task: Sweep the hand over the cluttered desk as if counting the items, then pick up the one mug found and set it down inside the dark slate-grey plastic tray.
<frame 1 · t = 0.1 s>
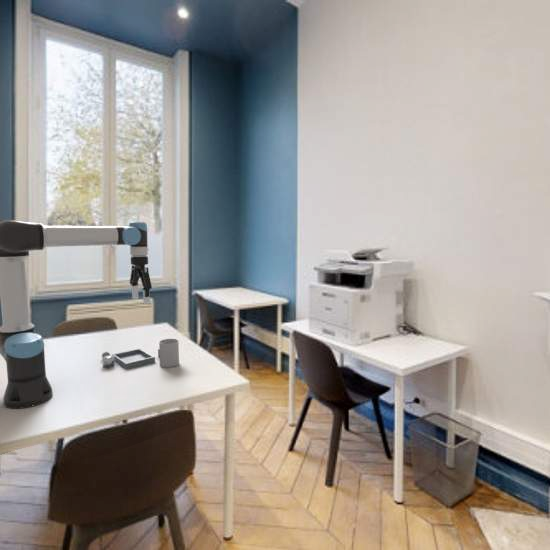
hand: (140, 301, 181), 28 cm above the table, fingers open, 13 cm apart
walnut block: (164, 357, 188), on the table
mug: (169, 363, 181), on the table
chrome bearing sphere: (108, 365, 177), on the table
rubber ball: (106, 355, 185), point 2 cm above the table
tray: (133, 360, 183), on the table
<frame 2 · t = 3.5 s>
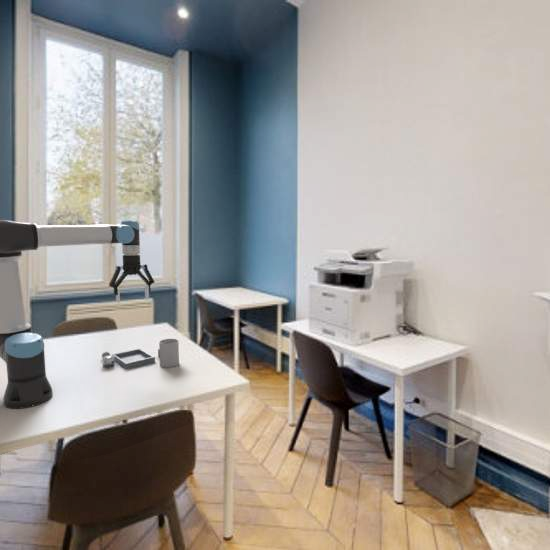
hand: (132, 300, 181), 29 cm above the table, fingers open, 13 cm apart
nothing on the table moved.
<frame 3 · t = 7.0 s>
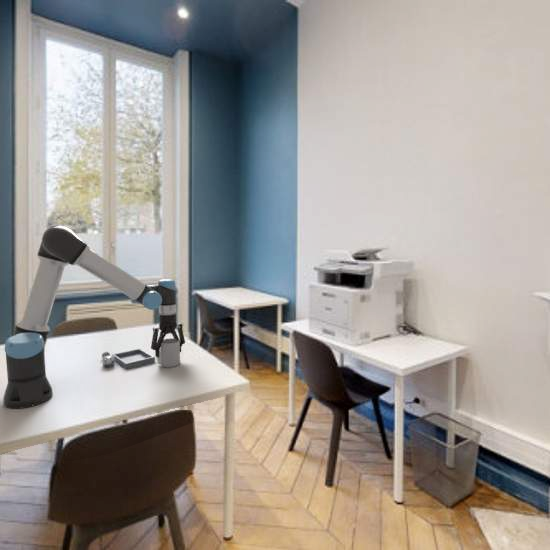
hand: (168, 361, 180), 1 cm above the table, fingers closed on mug, 8 cm apart
mug: (170, 363, 181), on the table, touching gripper
everything else where it was.
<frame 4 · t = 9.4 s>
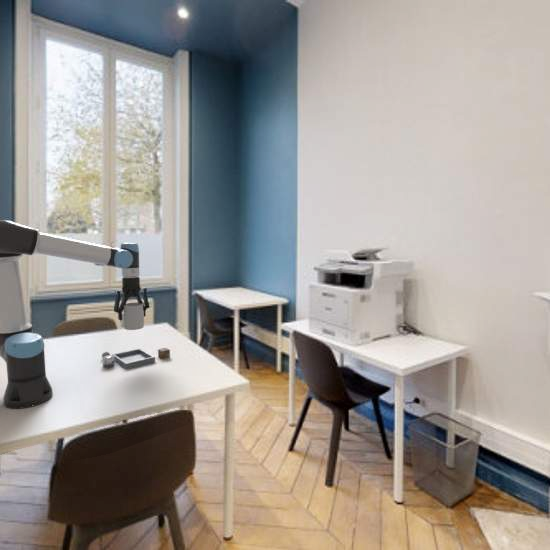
hand: (132, 325, 181), 17 cm above the table, fingers closed on mug, 8 cm apart
mug: (134, 327, 182), point 16 cm above the table, touching gripper
everything else where it was.
when the fingers open (3 cm above the table, at t = 12.1 s): mug drops 2 cm, resting on tray.
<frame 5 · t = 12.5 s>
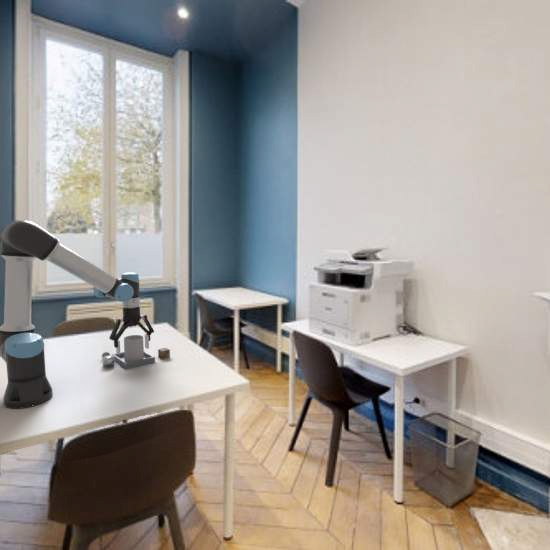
hand: (133, 350, 183), 5 cm above the table, fingers open, 13 cm apart
mug: (134, 359, 184), resting on tray
everything else where it was.
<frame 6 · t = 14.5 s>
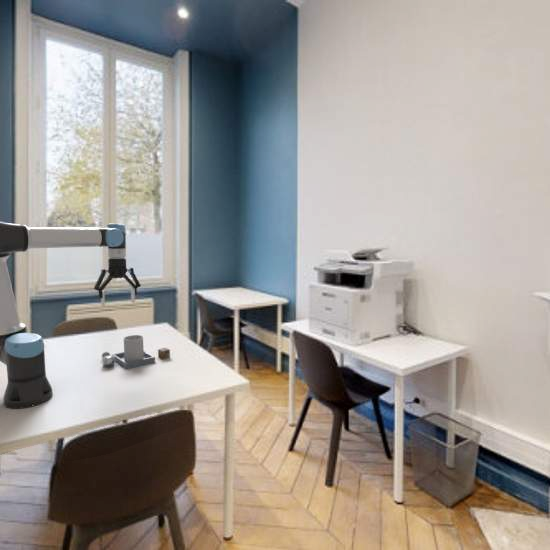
hand: (118, 303, 181), 27 cm above the table, fingers open, 13 cm apart
nothing on the table moved.
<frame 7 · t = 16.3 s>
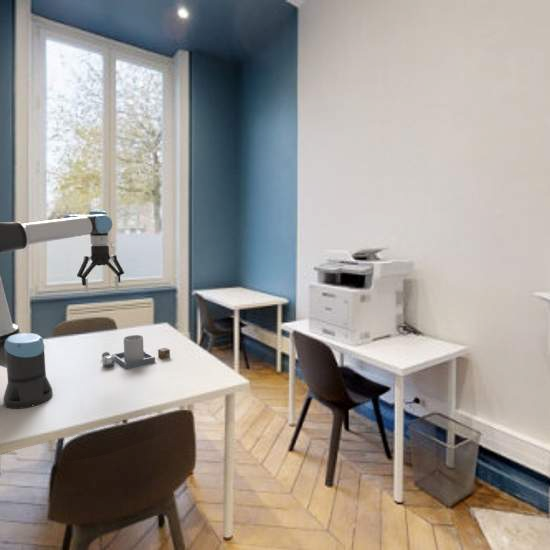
hand: (102, 290, 181), 33 cm above the table, fingers open, 13 cm apart
nothing on the table moved.
at the end: mug inside the target area on the tray (0.4 cm from its centre), point 0.4 cm above the tray's base; mug tilted 0°; the gripper is holding nothing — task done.
